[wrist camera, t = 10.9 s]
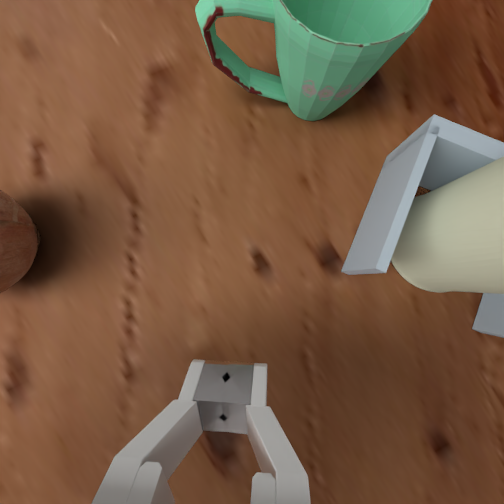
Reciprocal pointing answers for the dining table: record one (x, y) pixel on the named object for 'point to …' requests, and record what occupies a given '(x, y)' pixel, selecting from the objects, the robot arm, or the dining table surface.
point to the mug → (314, 46)
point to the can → (456, 235)
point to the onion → (15, 242)
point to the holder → (404, 189)
